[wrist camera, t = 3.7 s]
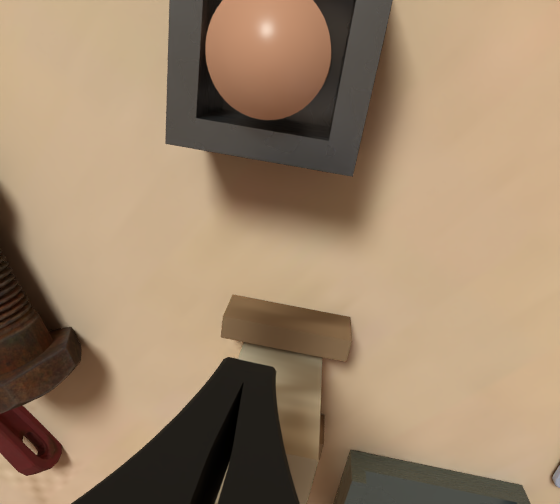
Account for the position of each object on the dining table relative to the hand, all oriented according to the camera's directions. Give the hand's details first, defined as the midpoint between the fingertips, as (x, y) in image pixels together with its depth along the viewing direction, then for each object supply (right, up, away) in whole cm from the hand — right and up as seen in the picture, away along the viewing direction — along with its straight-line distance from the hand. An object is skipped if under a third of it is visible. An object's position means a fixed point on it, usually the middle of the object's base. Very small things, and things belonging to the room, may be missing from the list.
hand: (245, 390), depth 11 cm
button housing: (+1, +11, +5) cm, 12 cm away
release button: (+1, +11, +4) cm, 12 cm away
